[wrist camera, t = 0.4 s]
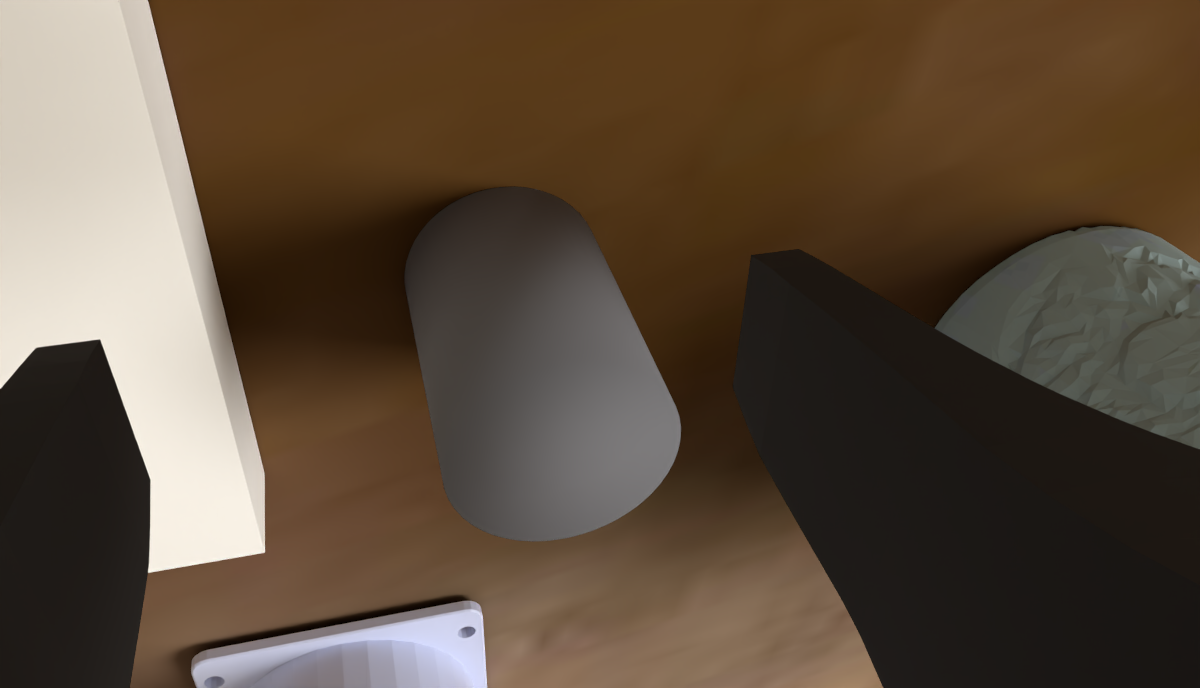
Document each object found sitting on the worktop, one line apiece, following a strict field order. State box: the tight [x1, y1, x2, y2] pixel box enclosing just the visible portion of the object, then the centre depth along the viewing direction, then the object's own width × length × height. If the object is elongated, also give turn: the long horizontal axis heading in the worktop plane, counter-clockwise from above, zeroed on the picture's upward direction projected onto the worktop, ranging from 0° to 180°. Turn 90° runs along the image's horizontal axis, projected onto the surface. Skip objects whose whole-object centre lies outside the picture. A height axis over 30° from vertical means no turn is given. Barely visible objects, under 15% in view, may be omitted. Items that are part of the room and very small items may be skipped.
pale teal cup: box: [935, 226, 1200, 449], centre depth 25 cm, size 10×10×12 cm
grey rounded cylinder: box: [404, 187, 681, 541], centre depth 20 cm, size 4×4×6 cm
